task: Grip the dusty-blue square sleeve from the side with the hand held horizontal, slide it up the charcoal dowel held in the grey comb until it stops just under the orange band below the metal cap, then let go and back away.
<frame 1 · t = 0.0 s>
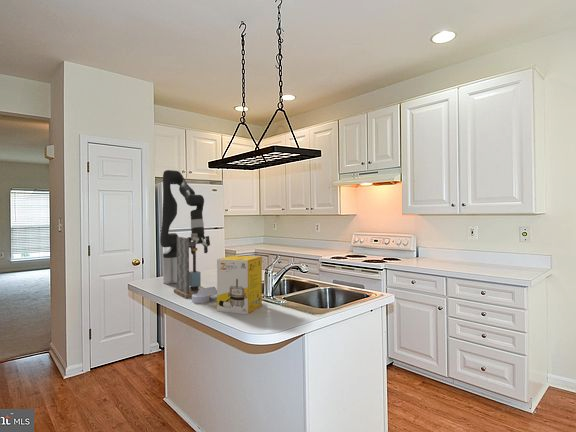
hand: (199, 253, 214), 22 cm above the worktop, tool pointing down, fingers open, 8 cm apart
wedge on round base: (203, 300, 192), on the worktop
packaging box: (240, 308, 176), on the worktop
cord stand: (194, 293, 208), on the worktop
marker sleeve: (194, 278, 208), point 8 cm above the worktop, slide at 0.0 cm
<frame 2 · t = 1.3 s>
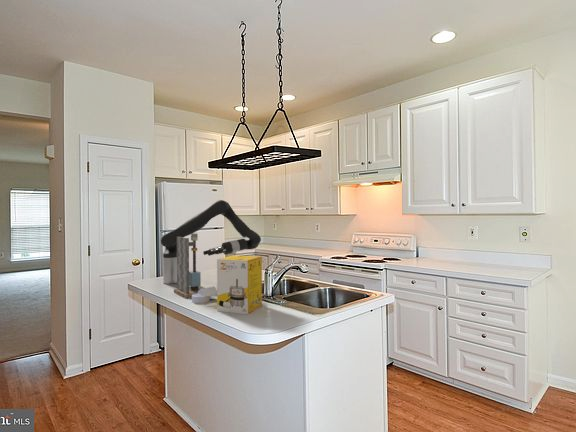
hand: (205, 253, 212), 23 cm above the worktop, tool horizontal, fingers open, 8 cm apart
nothing on the worktop moved.
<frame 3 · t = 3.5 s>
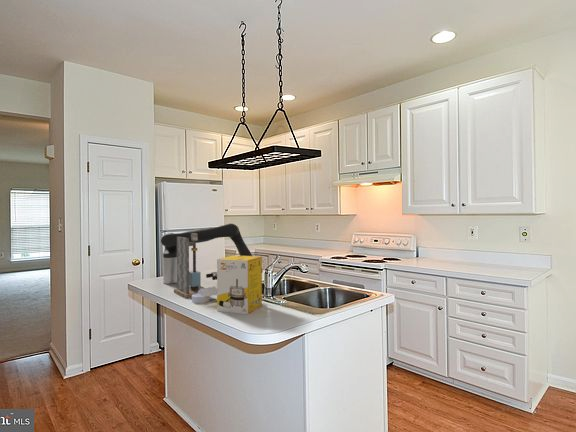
hand: (209, 277, 214), 8 cm above the worktop, tool horizontal, fingers open, 8 cm apart
nothing on the worktop moved.
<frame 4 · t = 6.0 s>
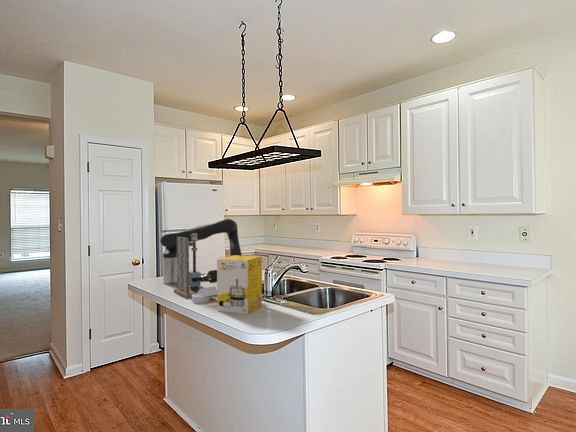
hand: (190, 279, 207), 8 cm above the worktop, tool horizontal, fingers closed on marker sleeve, 5 cm apart
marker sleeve: (194, 278, 208), point 8 cm above the worktop, slide at 0.0 cm, touching gripper
everything else where it was.
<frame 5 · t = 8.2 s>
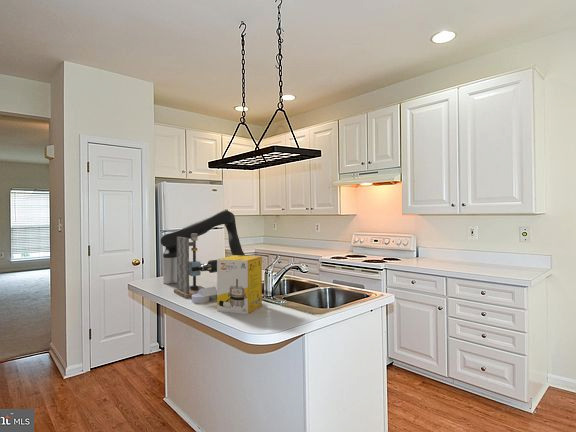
hand: (190, 268, 207), 15 cm above the worktop, tool horizontal, fingers closed on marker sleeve, 5 cm apart
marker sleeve: (194, 268, 208), point 15 cm above the worktop, slide at 6.1 cm, touching gripper
everything else where it was.
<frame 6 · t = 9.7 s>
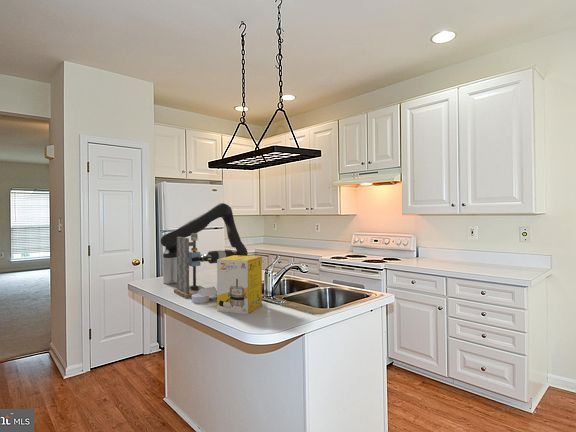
hand: (190, 259, 207), 20 cm above the worktop, tool horizontal, fingers closed on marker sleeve, 5 cm apart
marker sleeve: (194, 258, 208), point 20 cm above the worktop, slide at 11.7 cm, touching gripper
everything else where it was.
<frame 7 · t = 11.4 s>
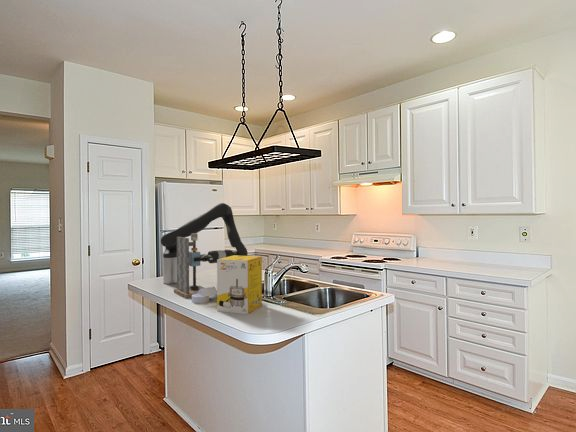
hand: (191, 258, 207), 20 cm above the worktop, tool horizontal, fingers open, 8 cm apart
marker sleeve: (194, 258, 208), point 20 cm above the worktop, slide at 11.8 cm
everything else where it was.
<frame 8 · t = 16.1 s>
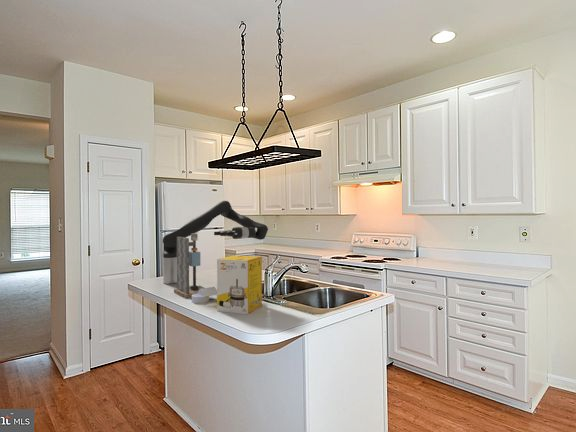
hand: (217, 233, 220), 34 cm above the worktop, tool horizontal, fingers open, 8 cm apart
nothing on the worktop moved.
at the end: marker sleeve slide at 11.8 cm; the gripper is holding nothing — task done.
